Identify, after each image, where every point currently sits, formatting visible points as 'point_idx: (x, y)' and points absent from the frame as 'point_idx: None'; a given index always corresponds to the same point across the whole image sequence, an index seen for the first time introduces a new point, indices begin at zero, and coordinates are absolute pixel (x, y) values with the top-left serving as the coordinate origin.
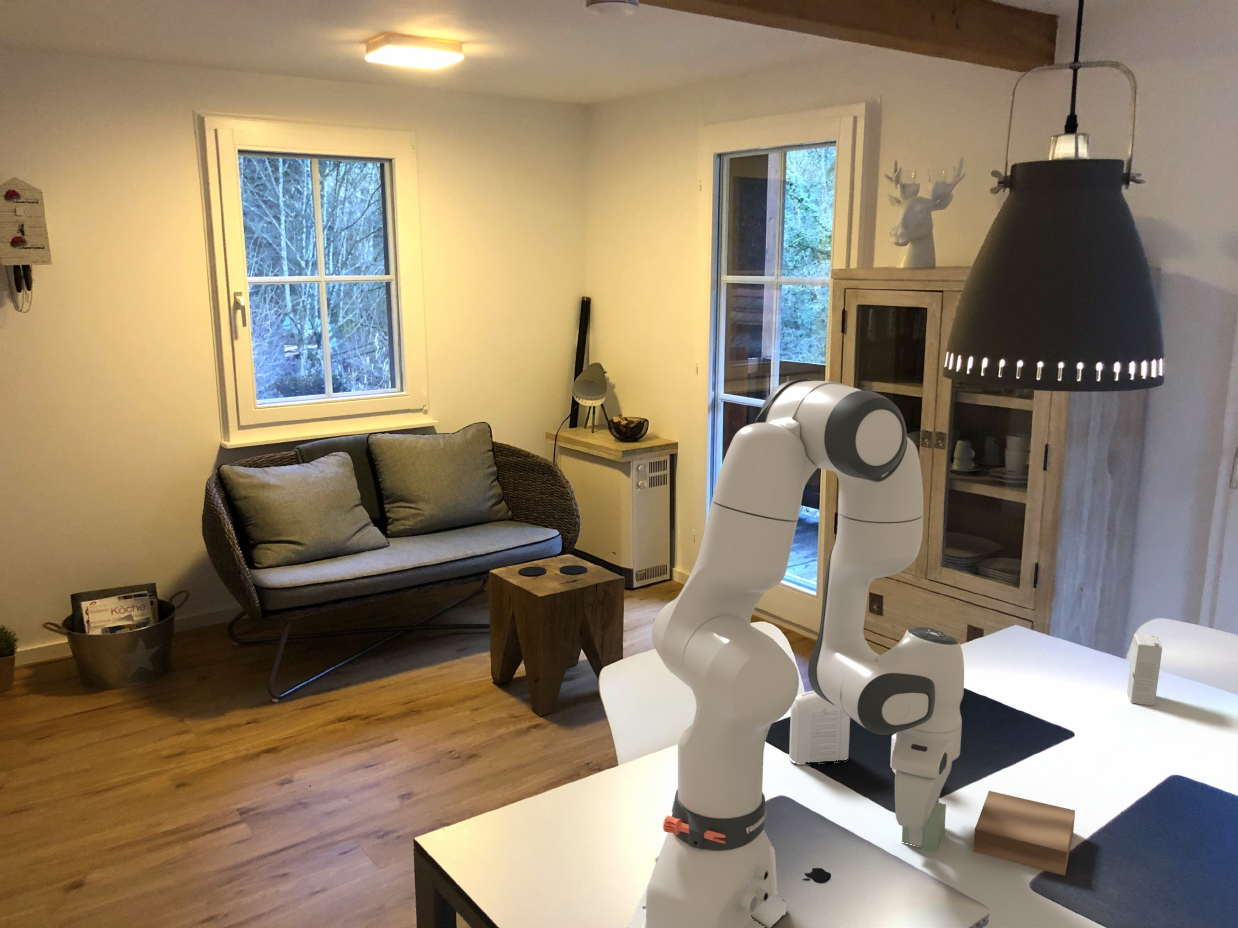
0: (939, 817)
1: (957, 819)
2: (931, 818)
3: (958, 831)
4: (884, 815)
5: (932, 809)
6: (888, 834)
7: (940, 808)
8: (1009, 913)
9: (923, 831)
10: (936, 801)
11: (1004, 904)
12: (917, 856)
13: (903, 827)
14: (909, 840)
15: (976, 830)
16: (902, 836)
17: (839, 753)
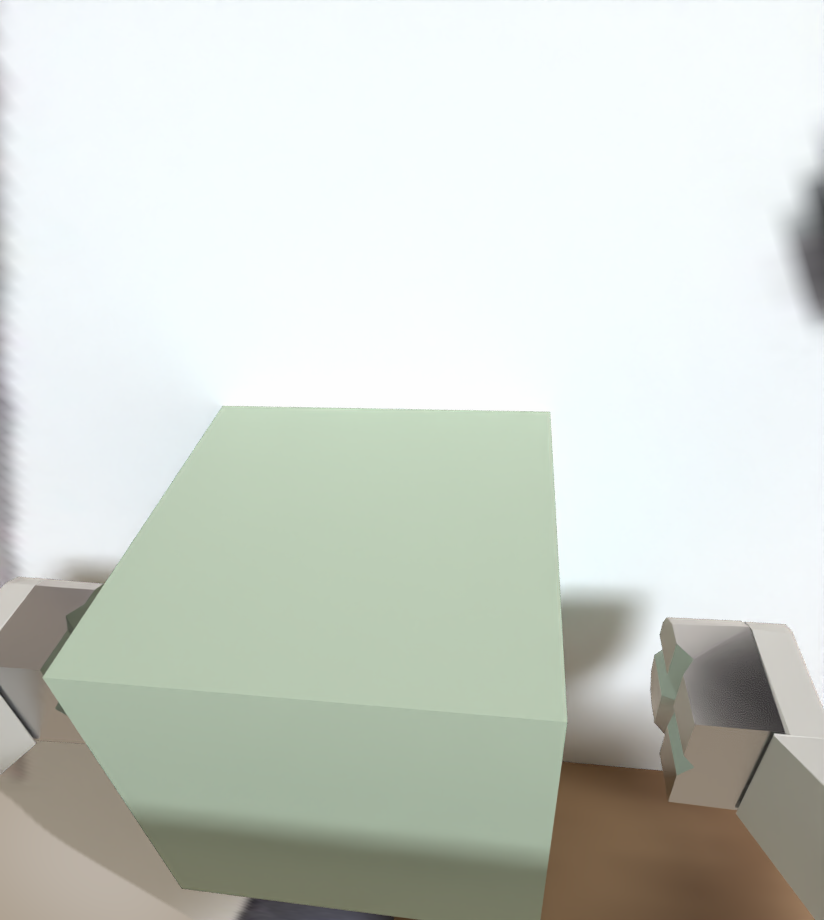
0: (242, 892)
1: None
2: (172, 855)
3: (623, 691)
4: (680, 88)
5: (349, 865)
6: (270, 265)
7: (424, 901)
8: (55, 823)
9: (62, 737)
10: (716, 800)
11: (93, 816)
12: (134, 530)
13: (158, 518)
14: (7, 586)
15: (397, 917)
16: (198, 447)
17: None
